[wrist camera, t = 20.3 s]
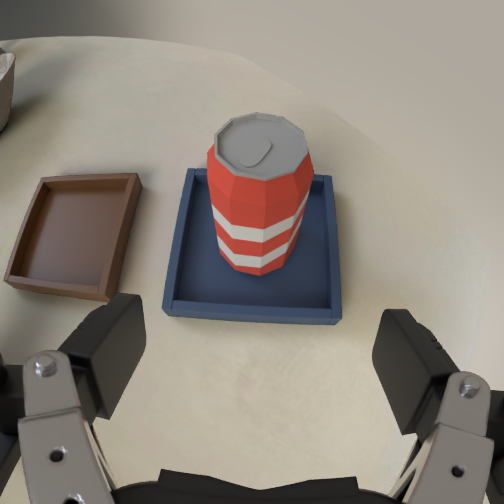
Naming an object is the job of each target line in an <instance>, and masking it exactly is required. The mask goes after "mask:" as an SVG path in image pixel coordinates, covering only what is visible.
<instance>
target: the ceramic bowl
mask: <svg viewBox="0 0 504 504" xmlns="http://www.w3.org/2000/svg"><path fill="white" fill-rule="evenodd" d="M15 59H16V55H15V54H14V53H5V54H2V55H0V132H1V130H2V129H3V128H4V126H5V125H6V124H7V121H8V118H9V114H10V109H11V104H12V95H13V84H14V67H15Z"/></svg>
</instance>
